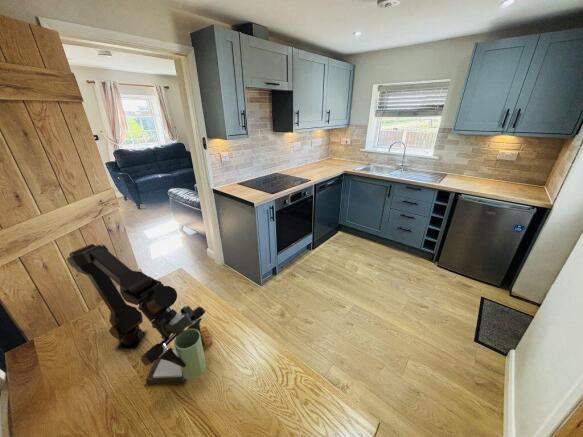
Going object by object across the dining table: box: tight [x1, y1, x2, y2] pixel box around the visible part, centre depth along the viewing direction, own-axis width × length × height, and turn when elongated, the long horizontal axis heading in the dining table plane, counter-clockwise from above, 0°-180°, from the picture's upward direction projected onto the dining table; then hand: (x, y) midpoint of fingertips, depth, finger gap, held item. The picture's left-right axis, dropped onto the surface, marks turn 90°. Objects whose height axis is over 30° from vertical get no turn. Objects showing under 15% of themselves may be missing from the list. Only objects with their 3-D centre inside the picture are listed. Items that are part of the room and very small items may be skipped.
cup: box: [173, 328, 207, 381], centre depth 69 cm, size 7×7×13 cm
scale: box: [145, 348, 186, 386], centre depth 78 cm, size 11×10×3 cm
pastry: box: [200, 324, 212, 350], centre depth 87 cm, size 9×7×4 cm
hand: (194, 355), depth 69 cm, fingers closed on cup, 7 cm apart
